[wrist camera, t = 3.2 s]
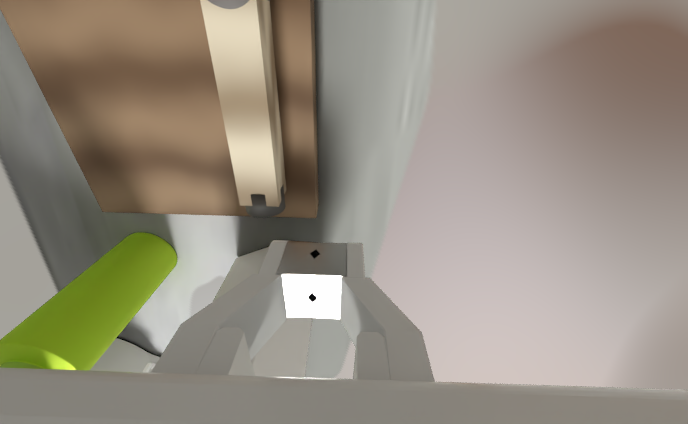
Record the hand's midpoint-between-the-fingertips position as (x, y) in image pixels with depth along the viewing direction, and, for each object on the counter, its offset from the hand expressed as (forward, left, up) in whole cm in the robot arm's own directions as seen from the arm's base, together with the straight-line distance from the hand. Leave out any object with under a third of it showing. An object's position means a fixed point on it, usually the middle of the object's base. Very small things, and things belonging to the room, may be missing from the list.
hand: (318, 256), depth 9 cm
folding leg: (+3, +6, -14) cm, 15 cm away
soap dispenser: (-14, +22, -17) cm, 31 cm away
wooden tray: (+4, +12, -17) cm, 21 cm away
